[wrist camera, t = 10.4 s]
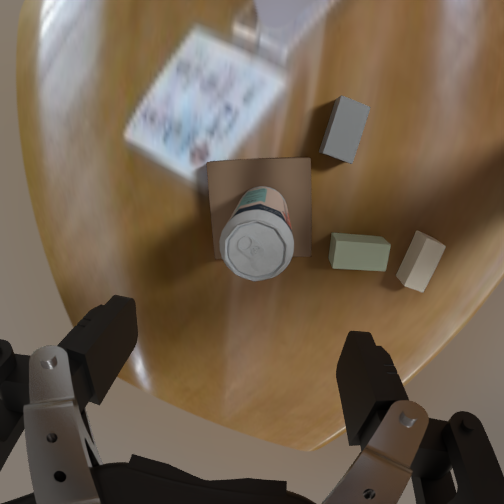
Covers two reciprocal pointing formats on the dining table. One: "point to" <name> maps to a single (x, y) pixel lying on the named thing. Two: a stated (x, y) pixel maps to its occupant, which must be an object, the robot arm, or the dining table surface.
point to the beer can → (258, 235)
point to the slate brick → (344, 129)
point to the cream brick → (420, 261)
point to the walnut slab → (270, 175)
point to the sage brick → (358, 252)
